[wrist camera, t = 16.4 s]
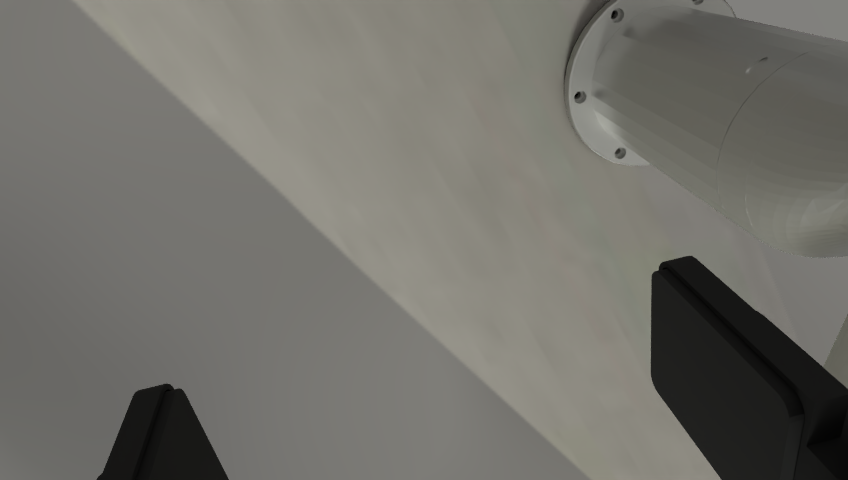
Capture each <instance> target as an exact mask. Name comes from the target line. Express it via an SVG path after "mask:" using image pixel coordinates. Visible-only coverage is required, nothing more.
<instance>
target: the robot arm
mask: <svg viewBox="0 0 848 480" xmlns="http://www.w3.org/2000/svg"><path fill="white" fill-rule="evenodd" d="M613 11H615V15H614V16H613V17H612V18H611V15H612V12H613ZM564 92H565V105H566V109H567V114H568V118H569V120H570V122H571V124H572V127H573V129H574V131H575V132H576V134H577V135H578V136H579V138H580V139H581V140H582V142H583V143H584V144H586V145H587V146H588V147H589V148H590V149H591V150H592V151H594V152H595V153H597V154H598V155H600V156H601V157H603V158H604V159H606V160H609V161H611V162H614V163H617V164H622V165H628V166H646V165H653V166H654V167H656V168H657V169H659V170H660V171H661V172H663V173H664V174H666V175H667V176H668V177H670V178H671V179H673V180H674V181H675V182H677V183H678V184H680V185H681V186H683V187H684V188H685V189H687V190H688V191H690V192H691V193H692V194H694V195H695V196H697V197H698V198H699V199H701V200H702V201H704V202H705V203H707V204H708V205H709V206H711V207H712V208H714V209H715V210H716V211H718V212H719V213H721V214H722V215H724V216H725V217H726V218H728V219H729V220H731V221H732V222H733V223H735V224H736V225H738V226H739V227H740V228H742V229H743V230H745V231H746V232H747V233H749V234H750V235H752V236H753V237H755V238H756V239H758V240H759V241H761V242H763V243H765V244H767V245H768V246H770V247H773V248H775V249H778V250H780V251H783V252H786V253H789V254H794V255H799V256H804V257H812V258H826V257H827V258H830V257H846V256H848V42H845V41H841V40H836V39H832V38H827V37H822V36H818V35H813V34H808V33H804V32H799V31H794V30H790V29H785V28H780V27H775V26H771V25H766V24H762V23H757V22H752V21H748V20H743V19H738V18H736V16H735V14H734V12H733V10H732V8H731V7H730V6H729V5H728V3H727V2H726V1H725V0H610V1H609V2H608V3H606V4H605V5H604V6H603V7H602V8H601V9H600V10H599V11H598V12H597V13H596V14H595V15H594V16H593V18H592V19H591V20H590V21H589V23H588V24H587V25H586V27H585V28H584V29H583V31H582V33H581V34H580V36H579V38H578V40H577V42H576V44H575V46H574V47H573V50H572V53H571V56H570V59H569V62H568V65H567V70H566V76H565V83H564ZM577 92H579V93H578V96H577V97H574V96H575V94H576V93H577ZM617 149H618V150H617ZM616 150H617V151H616ZM615 151H616V152H615ZM651 377H652V381H653V384H654V386H655V389H656V390H657V392H658V393H659V395H660V396H661V398H662V399H663V400H664V402H665V403H666V404H667V406H668V407H669V408H670V410H671V411H672V413H673V414H674V415H675V417H676V418H677V419H678V421H679V422H680V423H681V425H682V426H683V428H684V429H685V430H686V432H687V433H688V434H689V436H690V437H691V438H692V440H693V441H694V443H695V444H696V445H697V447H698V448H699V449H700V451H701V452H702V453H703V455H704V456H705V458H706V459H707V460H708V462H709V463H710V464H711V466H712V467H713V469H714V470H715V471H716V473H717V474H718V475H719V477H720V478H721V479H722V480H848V315H847V317H846V319H845V321H844V323H843V326H842V328H841V330H840V332H839V334H838V336H837V338H836V340H835V342H834V345H833V347H832V349H831V351H830V353H829V355H828V358H827V360H826V362H825V364H824V366H823V367H822V366H821V365H820V364H819V363H818V362H816V361H815V360H814V359H813V358H812V357H811V356H809V355H808V354H807V353H806V352H805V351H804V350H803V349H801V348H800V347H799V346H798V345H797V344H796V343H795V342H793V341H792V340H791V339H790V338H789V337H788V336H787V335H785V334H784V333H783V332H782V331H781V330H780V329H778V328H777V327H776V326H775V325H774V324H773V323H772V322H770V321H769V320H768V319H767V318H766V317H765V316H763V315H762V314H760V313H759V312H757V311H755V310H754V309H753V308H752V307H751V306H750V305H748V304H747V303H746V302H745V301H744V300H743V299H742V298H740V297H739V296H738V295H737V294H736V293H735V292H734V291H732V290H731V289H730V288H729V287H728V286H727V285H726V284H724V283H723V282H722V281H721V280H720V279H719V278H718V277H716V276H715V275H714V274H713V273H712V272H711V271H710V270H708V269H707V268H706V267H705V266H704V265H703V264H701V263H700V262H699V261H698V260H697V259H696V258H694V257H693V256H686V257H682V258H678V259H674V260H669V261H665V262H662V263H661V264H660V266H659V271H655V272H654V273H653V274H652V298H651ZM97 480H229V479H228V477H227V475H226V473H225V471H224V469H223V467H222V465H221V463H220V461H219V459H218V457H217V455H216V453H215V451H214V450H213V448H212V446H211V444H210V442H209V440H208V438H207V436H206V434H205V432H204V430H203V428H202V426H201V424H200V422H199V420H198V418H197V416H196V414H195V412H194V410H193V408H192V406H191V404H190V402H189V400H188V398H187V396H186V394H185V393H184V391H183V390H182V389H175V390H174V388H173V387H172V386H171V385H170V384H163V385H159V386H155V387H151V388H147V389H142V390H139V391H137V392H136V393H135V394H134V396H133V398H132V400H131V403H130V405H129V408H128V410H127V413H126V415H125V418H124V420H123V423H122V425H121V428H120V430H119V433H118V436H117V438H116V441H115V443H114V446H113V448H112V451H111V453H110V456H109V459H108V461H107V463H106V466H105V468H104V471H103V473H102V474H101V475H100V476H99V477H98V478H97Z"/></svg>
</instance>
